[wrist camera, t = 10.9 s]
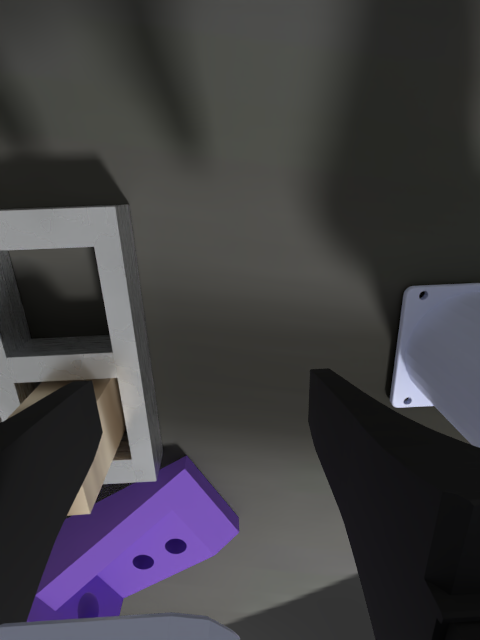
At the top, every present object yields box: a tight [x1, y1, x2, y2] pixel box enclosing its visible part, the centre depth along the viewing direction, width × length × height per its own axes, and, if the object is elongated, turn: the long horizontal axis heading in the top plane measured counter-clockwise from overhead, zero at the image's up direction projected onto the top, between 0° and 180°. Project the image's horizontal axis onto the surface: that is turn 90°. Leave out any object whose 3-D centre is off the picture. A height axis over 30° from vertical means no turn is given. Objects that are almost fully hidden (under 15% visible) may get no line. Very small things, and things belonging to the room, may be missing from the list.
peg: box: [6, 378, 126, 516], centre depth 19 cm, size 4×4×7 cm
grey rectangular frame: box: [0, 204, 163, 484], centre depth 20 cm, size 8×16×2 cm, turn 2°
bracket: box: [27, 455, 239, 622], centre depth 23 cm, size 12×7×7 cm, turn 121°
